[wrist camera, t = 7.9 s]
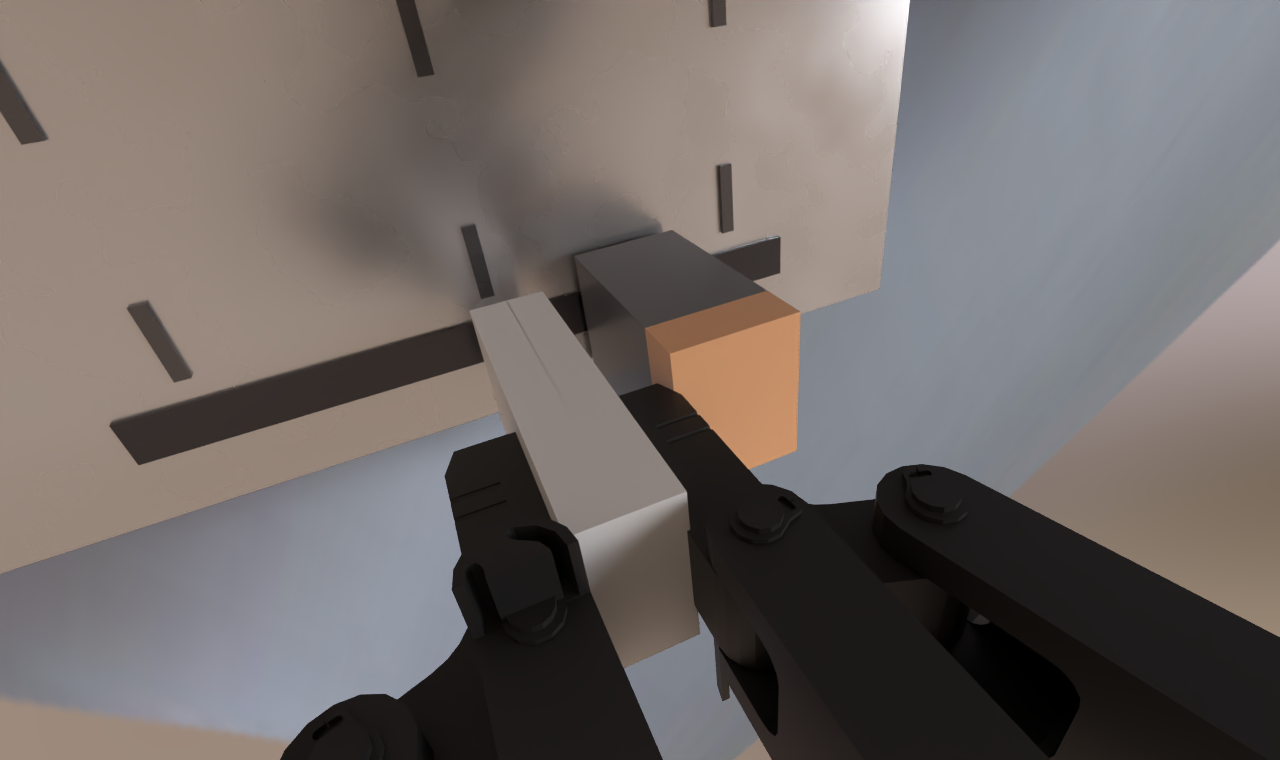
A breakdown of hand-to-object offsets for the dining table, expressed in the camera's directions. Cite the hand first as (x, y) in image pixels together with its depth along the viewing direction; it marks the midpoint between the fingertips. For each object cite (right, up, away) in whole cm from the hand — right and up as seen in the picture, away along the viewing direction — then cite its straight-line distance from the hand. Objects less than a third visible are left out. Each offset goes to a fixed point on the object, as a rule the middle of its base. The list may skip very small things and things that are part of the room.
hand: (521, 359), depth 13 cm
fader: (+2, +1, +2) cm, 3 cm away
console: (-2, +5, +1) cm, 5 cm away
